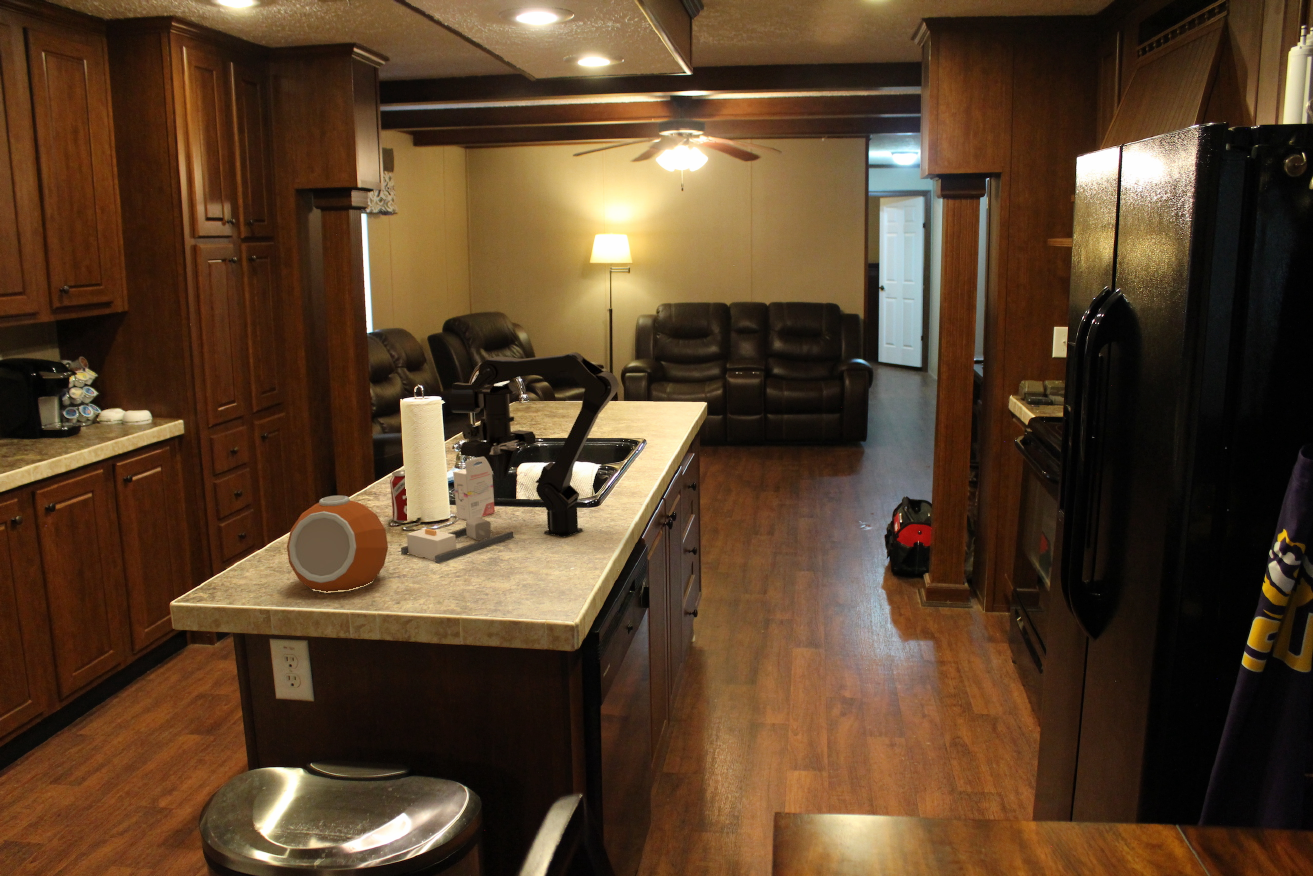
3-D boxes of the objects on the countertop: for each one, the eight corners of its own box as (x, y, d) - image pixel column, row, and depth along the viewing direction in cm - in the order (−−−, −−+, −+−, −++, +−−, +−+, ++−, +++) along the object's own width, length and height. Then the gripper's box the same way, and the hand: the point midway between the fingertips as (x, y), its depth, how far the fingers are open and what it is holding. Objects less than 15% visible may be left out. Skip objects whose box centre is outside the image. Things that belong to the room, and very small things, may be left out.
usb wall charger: (482, 533, 237) (481, 516, 236) (497, 539, 231) (495, 522, 230) (466, 537, 234) (465, 520, 233) (481, 543, 229) (479, 526, 228)
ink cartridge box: (481, 510, 257) (477, 452, 254) (495, 513, 254) (491, 454, 251) (455, 518, 250) (451, 459, 248) (469, 521, 247) (465, 461, 245)
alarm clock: (274, 597, 197) (264, 509, 194) (316, 568, 214) (308, 487, 211) (369, 599, 194) (361, 510, 191) (404, 570, 211) (397, 488, 208)
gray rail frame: (513, 537, 232) (513, 531, 232) (438, 563, 215) (438, 556, 215) (476, 530, 239) (476, 523, 239) (401, 554, 222) (400, 547, 222)
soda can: (410, 515, 254) (406, 468, 252) (427, 519, 250) (424, 471, 248) (387, 521, 249) (383, 473, 247) (404, 525, 245) (400, 476, 243)
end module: (456, 555, 220) (454, 530, 219) (438, 561, 216) (436, 536, 215) (426, 548, 226) (424, 524, 225) (408, 554, 222) (406, 529, 221)
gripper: (501, 404, 245) (505, 468, 248) (441, 416, 230) (446, 484, 233) (535, 407, 238) (539, 473, 241) (476, 420, 224) (480, 490, 227)
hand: (501, 480), depth 236 cm, fingers closed
